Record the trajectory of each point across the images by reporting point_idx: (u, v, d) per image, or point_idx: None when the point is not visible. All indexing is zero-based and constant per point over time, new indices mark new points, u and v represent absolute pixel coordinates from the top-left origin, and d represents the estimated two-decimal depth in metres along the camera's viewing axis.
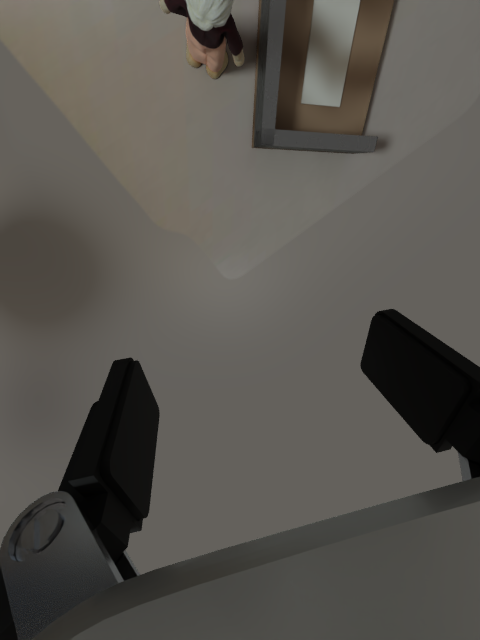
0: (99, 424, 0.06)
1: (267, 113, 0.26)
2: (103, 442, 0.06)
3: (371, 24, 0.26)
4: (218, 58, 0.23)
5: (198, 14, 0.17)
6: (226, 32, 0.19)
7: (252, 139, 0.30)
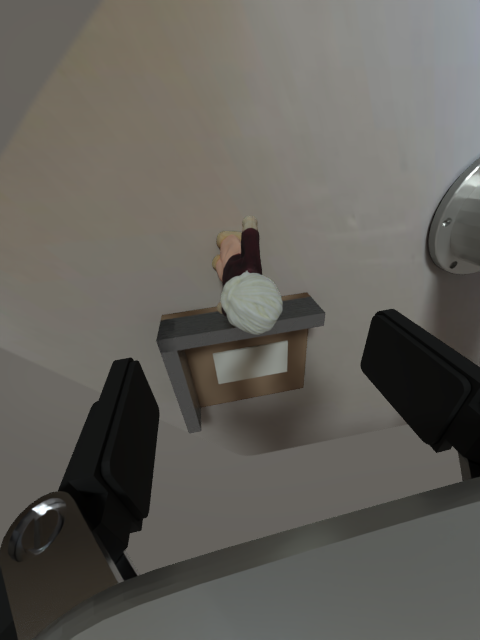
0: (99, 424, 0.06)
1: (188, 340, 0.22)
2: (103, 442, 0.06)
3: (272, 383, 0.32)
4: (221, 280, 0.20)
5: (230, 295, 0.13)
6: None
7: (169, 314, 0.25)
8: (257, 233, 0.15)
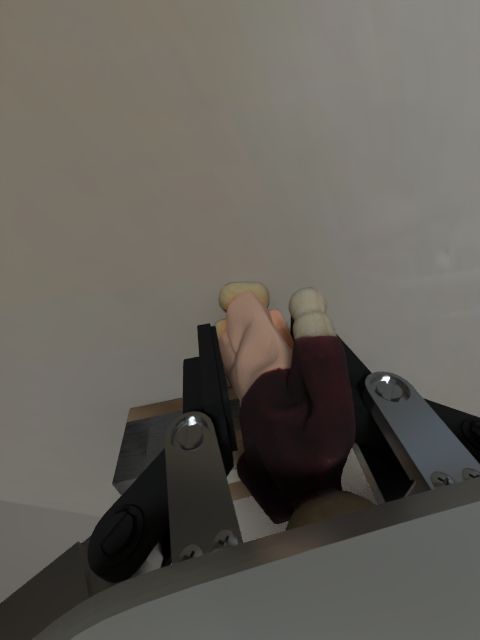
0: (208, 367, 0.07)
1: None
2: (218, 379, 0.07)
3: None
4: None
5: None
6: None
7: (142, 407, 0.16)
8: (342, 348, 0.06)
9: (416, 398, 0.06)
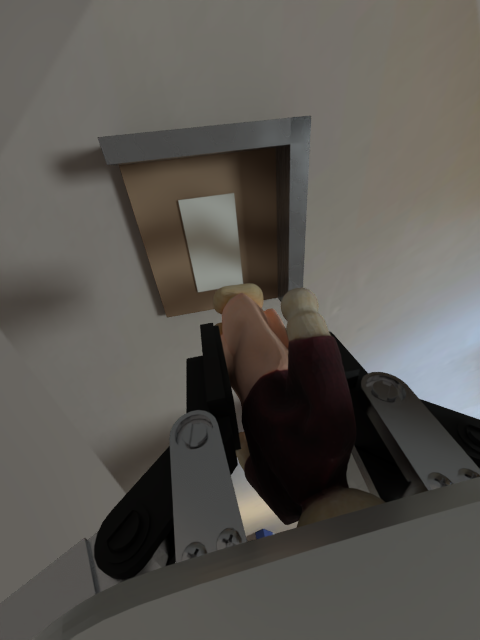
0: (212, 366, 0.07)
1: (302, 163, 0.18)
2: (222, 378, 0.07)
3: (175, 277, 0.25)
4: (234, 390, 0.10)
5: None
6: None
7: None
8: (336, 347, 0.06)
9: (412, 398, 0.06)
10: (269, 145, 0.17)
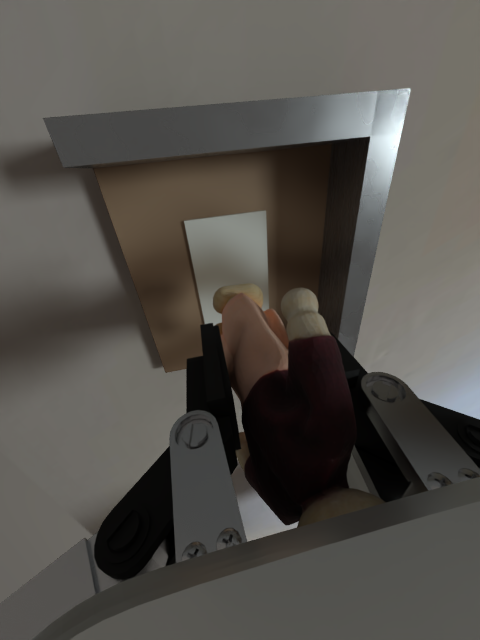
0: (212, 366, 0.07)
1: (384, 168, 0.12)
2: (222, 377, 0.07)
3: (177, 323, 0.18)
4: (234, 390, 0.10)
5: None
6: None
7: None
8: (336, 346, 0.06)
9: (412, 398, 0.06)
10: (337, 138, 0.11)
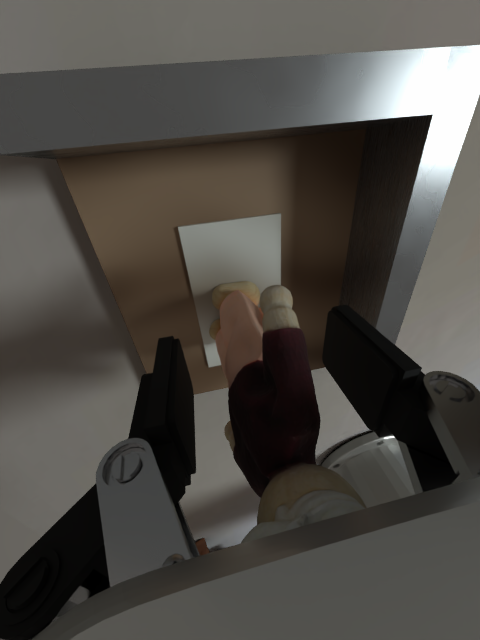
0: (159, 387, 0.07)
1: (445, 158, 0.09)
2: (166, 400, 0.06)
3: None
4: None
5: None
6: None
7: None
8: (302, 338, 0.06)
9: None
10: (388, 115, 0.08)
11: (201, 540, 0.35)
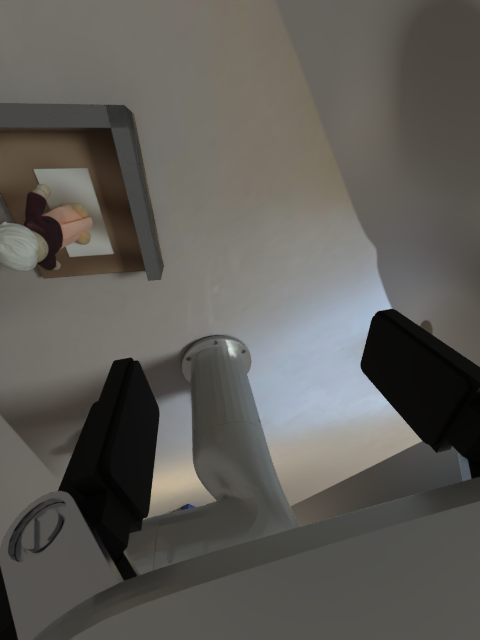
0: (99, 424, 0.06)
1: (126, 145, 0.22)
2: (103, 442, 0.06)
3: None
4: None
5: None
6: None
7: (135, 124, 0.24)
8: (37, 196, 0.19)
9: None
10: (91, 126, 0.21)
11: None
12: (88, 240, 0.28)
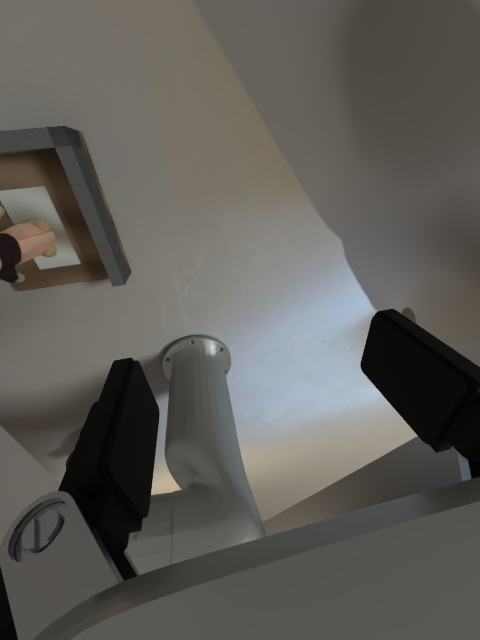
0: (99, 424, 0.06)
1: (72, 162, 0.24)
2: (103, 442, 0.06)
3: None
4: None
5: None
6: None
7: (84, 141, 0.26)
8: None
9: None
10: (36, 148, 0.23)
11: None
12: (54, 252, 0.30)
